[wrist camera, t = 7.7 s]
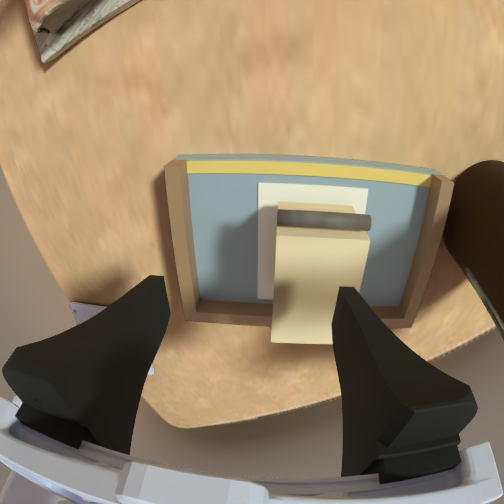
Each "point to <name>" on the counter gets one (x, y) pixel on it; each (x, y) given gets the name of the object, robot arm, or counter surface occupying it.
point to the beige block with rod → (315, 267)
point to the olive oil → (480, 233)
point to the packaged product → (68, 21)
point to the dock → (265, 229)
